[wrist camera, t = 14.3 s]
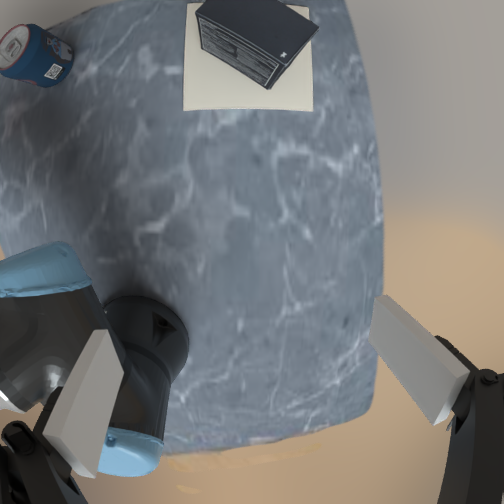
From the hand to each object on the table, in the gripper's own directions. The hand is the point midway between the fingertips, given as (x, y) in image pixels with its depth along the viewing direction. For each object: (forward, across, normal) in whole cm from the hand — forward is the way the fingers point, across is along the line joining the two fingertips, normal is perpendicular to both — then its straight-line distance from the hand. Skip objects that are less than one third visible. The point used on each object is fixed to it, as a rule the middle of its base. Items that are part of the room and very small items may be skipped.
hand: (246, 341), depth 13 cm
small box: (+25, +5, +22) cm, 33 cm away
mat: (+25, +5, +22) cm, 34 cm away
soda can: (+26, -22, +26) cm, 43 cm away
